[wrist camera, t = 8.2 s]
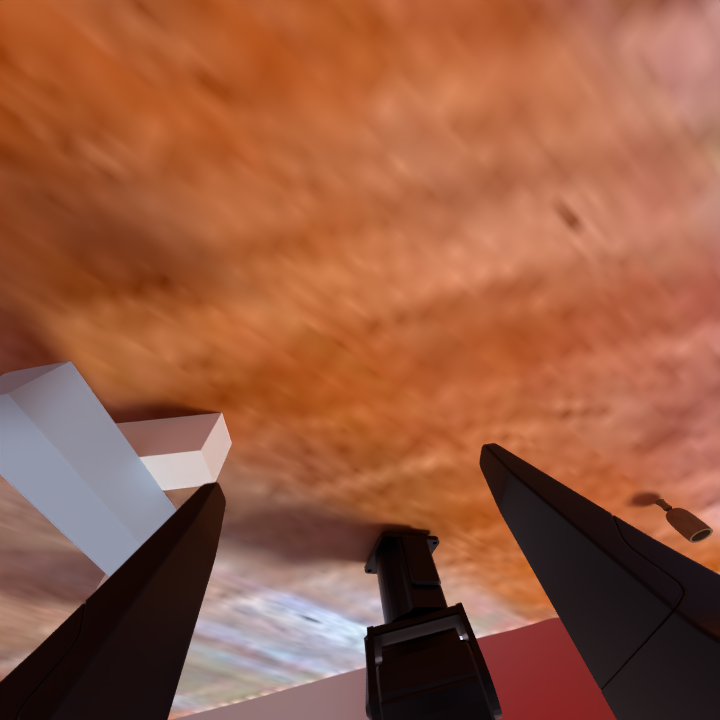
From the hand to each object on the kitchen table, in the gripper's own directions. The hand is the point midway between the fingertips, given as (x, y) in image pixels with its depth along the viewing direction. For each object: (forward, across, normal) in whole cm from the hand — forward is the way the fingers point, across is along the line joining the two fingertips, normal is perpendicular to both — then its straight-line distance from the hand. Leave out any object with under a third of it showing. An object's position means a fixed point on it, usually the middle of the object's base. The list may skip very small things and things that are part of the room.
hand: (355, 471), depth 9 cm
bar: (+7, +14, +6) cm, 17 cm away
